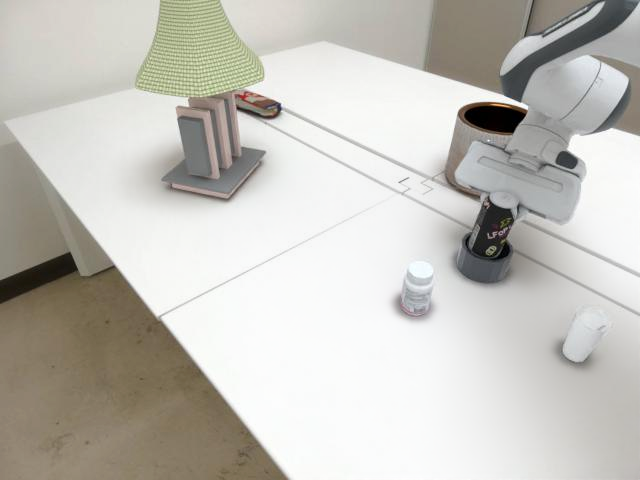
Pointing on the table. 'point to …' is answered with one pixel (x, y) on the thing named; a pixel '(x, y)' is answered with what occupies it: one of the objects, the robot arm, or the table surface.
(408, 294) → the pill bottle
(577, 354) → the milkshake
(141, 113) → the table surface
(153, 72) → the desk lamp
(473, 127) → the planter
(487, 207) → the beverage can
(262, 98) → the pencil case
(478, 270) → the can holder
